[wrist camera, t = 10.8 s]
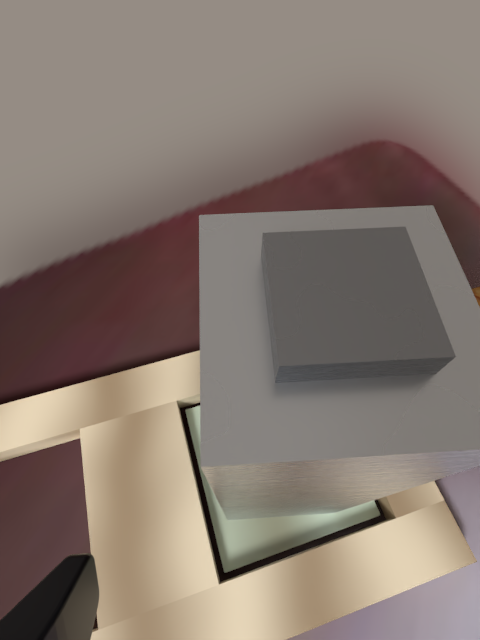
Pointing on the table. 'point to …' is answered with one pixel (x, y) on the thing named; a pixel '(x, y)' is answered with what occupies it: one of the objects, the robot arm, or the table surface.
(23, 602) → the robot arm
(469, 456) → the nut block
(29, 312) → the table surface
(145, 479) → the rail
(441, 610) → the table surface
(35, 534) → the table surface
